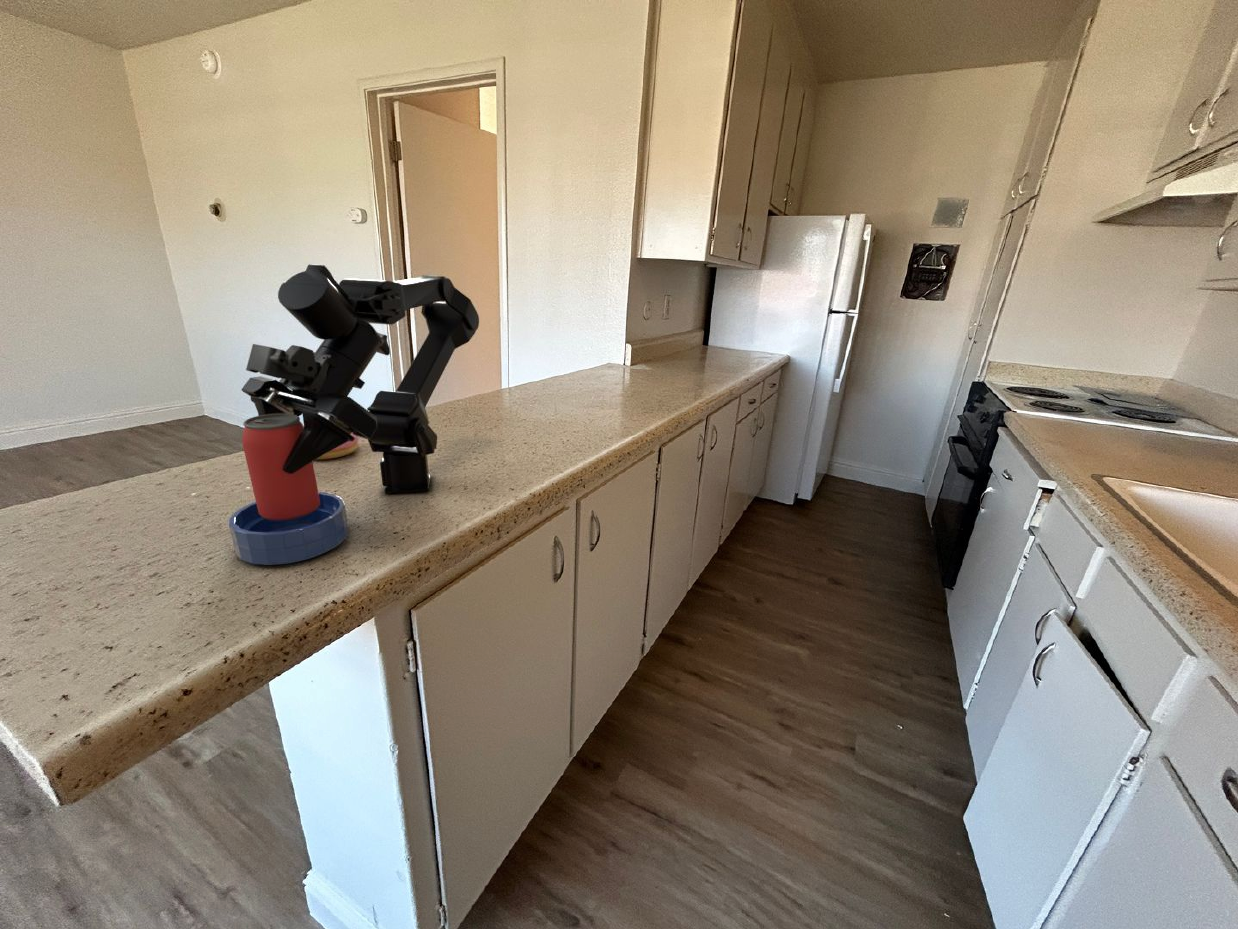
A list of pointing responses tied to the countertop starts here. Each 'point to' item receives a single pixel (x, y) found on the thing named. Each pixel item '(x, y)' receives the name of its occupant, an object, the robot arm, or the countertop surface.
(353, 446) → the doughnut
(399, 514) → the countertop surface
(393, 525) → the countertop surface
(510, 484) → the countertop surface
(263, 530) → the bowl
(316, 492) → the beer can
